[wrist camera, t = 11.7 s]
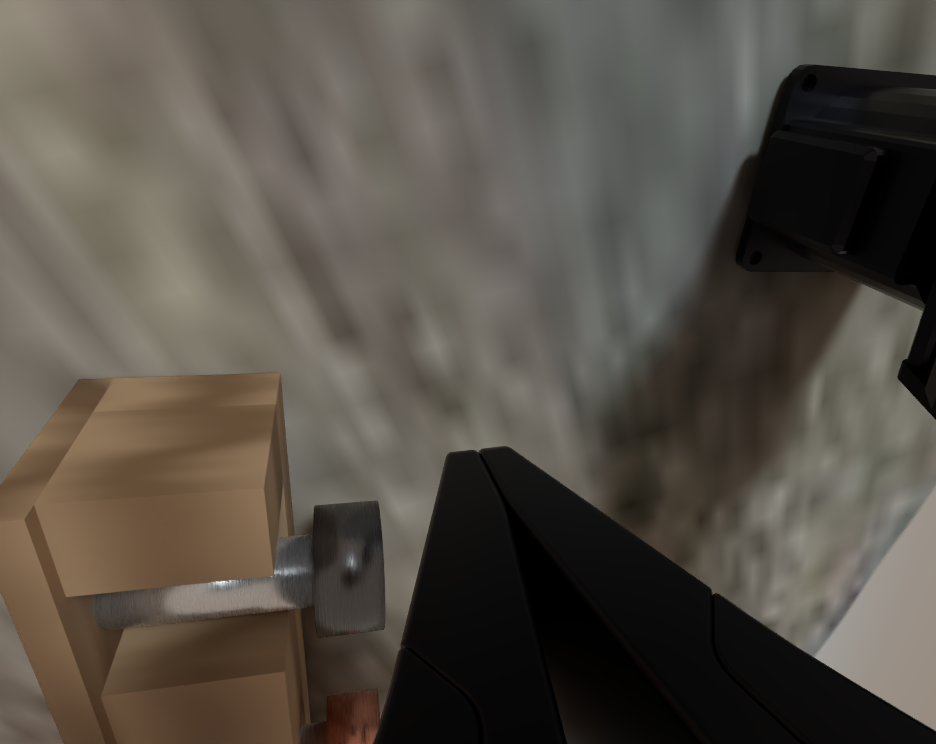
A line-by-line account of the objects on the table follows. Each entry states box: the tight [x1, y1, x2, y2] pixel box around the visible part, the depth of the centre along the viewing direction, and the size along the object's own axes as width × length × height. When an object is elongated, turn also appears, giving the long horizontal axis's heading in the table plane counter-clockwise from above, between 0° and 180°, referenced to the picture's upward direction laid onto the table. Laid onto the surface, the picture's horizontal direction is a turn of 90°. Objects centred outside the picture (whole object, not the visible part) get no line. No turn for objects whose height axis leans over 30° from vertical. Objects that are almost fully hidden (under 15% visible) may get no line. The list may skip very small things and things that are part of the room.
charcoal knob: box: [93, 501, 385, 638], centre depth 18 cm, size 8×4×4 cm, turn 86°
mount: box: [0, 373, 311, 744], centre depth 21 cm, size 6×20×6 cm, turn 176°
